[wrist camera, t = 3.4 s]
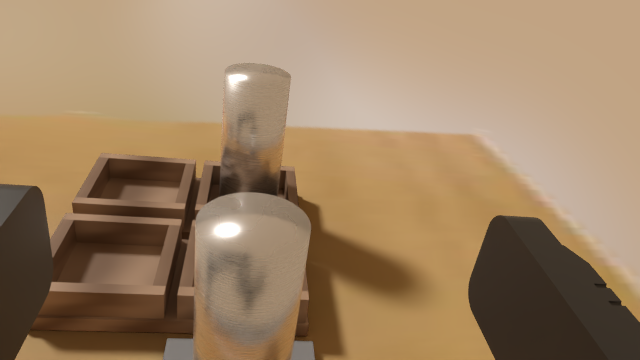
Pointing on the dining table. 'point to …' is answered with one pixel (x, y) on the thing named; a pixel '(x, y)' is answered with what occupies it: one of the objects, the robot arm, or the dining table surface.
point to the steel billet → (248, 277)
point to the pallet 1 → (158, 188)
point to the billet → (253, 128)
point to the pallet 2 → (125, 277)
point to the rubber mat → (181, 350)
